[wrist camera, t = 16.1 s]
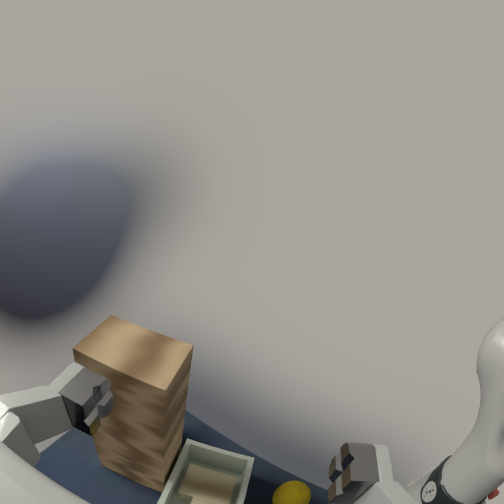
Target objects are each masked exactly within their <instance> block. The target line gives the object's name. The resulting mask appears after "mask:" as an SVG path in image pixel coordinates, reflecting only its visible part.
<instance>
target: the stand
mask: <svg viewBox="0 0 504 504" xmlns="http://www.w3.org/2000/svg"><path fill="white" fill-rule="evenodd" d="M192 352H193V345H190V344H187V343H184V342H181V341H179V340H176V339H173V338H170V337H167V336H164V335H161V334H159V333H156V332H153V331H151V330H148V329H145V328H142V327H140V326H137V325H135V324H132V323H130V322H127V321H124V320H122V319H120V318H117V317H115V316H112V315H111V316H110V317H109V318H107V319H106V320H105V321H104V322H103V323H101V324H100V325H99V326H98V327H97V328H96V329H94V330H93V331H92V332H91V333H90V334H89V335H87V336H86V337H85V338H84V339H83V340H82V341H80V342H79V343H78V344H77V345H76V346H75V347H74V348H73V353H74V359H75V362H76V363H78V364H80V365H82V366H84V367H86V368H87V369H89V370H91V371H93V372H95V373H97V374H99V375H101V376H103V377H105V378H107V379H109V380H110V381H111V386H112V387H111V388H110V389H109V390H110V391H111V393H112V394H113V399H114V400H113V406H112V409H111V411H110V413H109V414H108V416H107V417H105V418H102V419H100V422H101V426H100V427H99V428H98V430H97V431H96V432H95V434H94V435H93V440H94V443H95V447H96V450H97V453H98V456H99V459H100V462H101V465H102V466H104V467H106V468H108V469H110V470H112V471H114V472H116V473H118V474H120V475H122V476H124V477H126V478H128V479H131V480H133V481H135V482H137V483H140V484H142V485H144V486H147V487H149V488H151V489H154V490H156V491H159V492H163V490H164V488H165V486H166V484H167V482H168V479H169V477H170V475H171V473H172V471H173V469H174V466H175V464H176V462H177V460H178V458H179V456H180V453H181V444H182V435H183V425H184V416H185V407H186V399H187V390H188V382H189V374H190V367H191V359H192Z"/></svg>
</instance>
